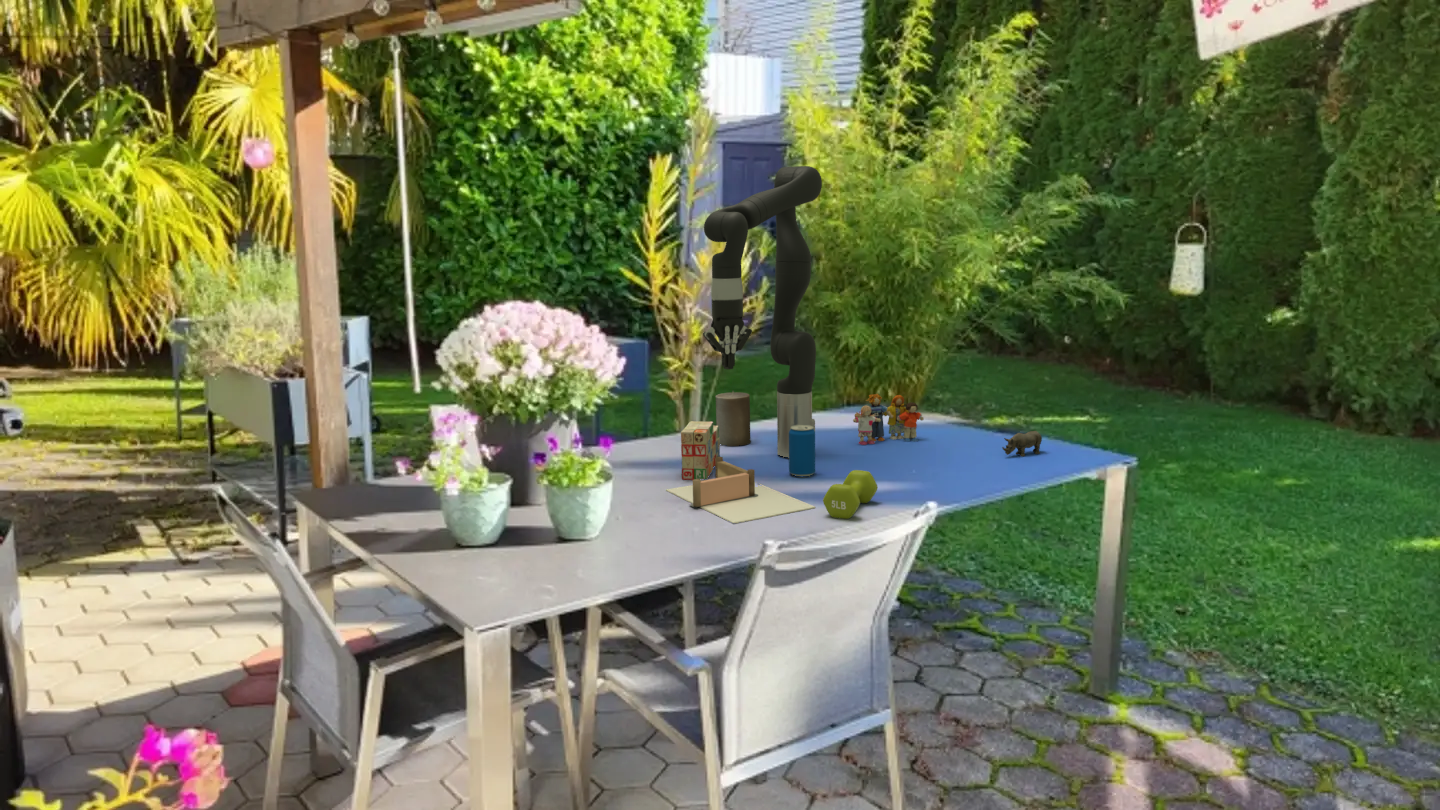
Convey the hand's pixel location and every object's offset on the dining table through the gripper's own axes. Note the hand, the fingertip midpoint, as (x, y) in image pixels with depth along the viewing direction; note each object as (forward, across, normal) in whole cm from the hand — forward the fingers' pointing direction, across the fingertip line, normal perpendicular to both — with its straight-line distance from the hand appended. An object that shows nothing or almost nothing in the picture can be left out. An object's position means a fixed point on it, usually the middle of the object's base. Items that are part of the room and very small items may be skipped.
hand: (728, 368), depth 248 cm
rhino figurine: (+27, -75, +23) cm, 83 cm away
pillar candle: (+27, -20, -32) cm, 47 cm away
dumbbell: (+27, -8, +38) cm, 48 cm away
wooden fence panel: (+27, +5, +11) cm, 29 cm away
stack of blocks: (+27, +2, -11) cm, 30 cm away
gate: (+26, +13, +18) cm, 35 cm away
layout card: (+27, +8, +18) cm, 34 cm away
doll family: (+27, -57, -11) cm, 64 cm away
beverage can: (+27, -16, +8) cm, 33 cm away
